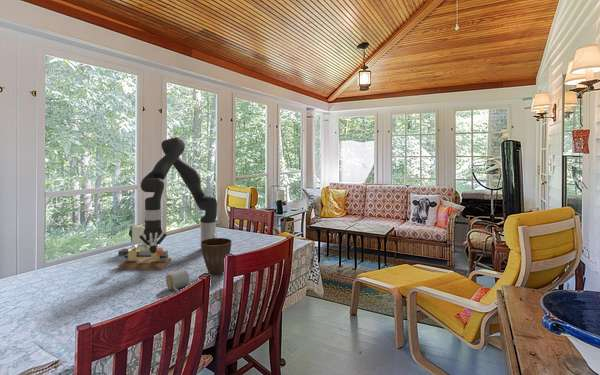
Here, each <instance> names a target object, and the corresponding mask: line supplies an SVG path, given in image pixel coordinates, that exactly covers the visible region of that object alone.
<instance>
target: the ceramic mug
mask: <svg viewBox="0 0 600 375" xmlns="http://www.w3.org/2000/svg"><path fill="white" fill-rule="evenodd" d="M165 283H166V287H167V288H168V290H170V291H175V292H176V293H178V292H177V291H179V290H180V289H182V288H187V287H186V286H188V287H189V286H190V276H189V273H188V271H187V269H185V268H183V269H180V270H177V271H173V272H170V273H168V274H166V277H165Z"/></svg>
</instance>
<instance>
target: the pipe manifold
mask: <svg viewBox="0 0 600 375" xmlns="http://www.w3.org/2000/svg"><path fill="white" fill-rule="evenodd" d="M161 248H162V250H163V255H159V256H157V253H156V252H155V253H152V252H150V250H141V248H135V249H132V250H131V251H129V252H128V254H126V255H125V256H123V257H122V263H128V262H130V261H131V260H138V259H139V258H151V260H161V263H166V262H167V261H168V258H169V250H166V249H164V247H161Z"/></svg>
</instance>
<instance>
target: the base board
mask: <svg viewBox="0 0 600 375" xmlns="http://www.w3.org/2000/svg"><path fill="white" fill-rule="evenodd" d="M172 261H173V258H172V257H168V261H167V262H166V263H161V260H151V257H141V258H139V259H138V260H131V261H130V262H128V263H123V262H122V263H119V265H118V270H163V269H164V268H166V267H167V266H168V265H169V264H170V263H172Z"/></svg>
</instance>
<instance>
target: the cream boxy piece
mask: <svg viewBox="0 0 600 375" xmlns="http://www.w3.org/2000/svg"><path fill="white" fill-rule="evenodd" d="M144 230H145V222H144V223H141V224H135V225H130V229H129V231H128V236H129V237H130V242H131V243H137V244H138V245H137V248H141V250H150V246H149V245H146V244H145V243H144V242H143V241H142V240H141V239H140V237H139V235H142V234H143V233H144ZM144 236H145V239H146V240H147V242H149V239H148V238H147V237H146V235H144ZM159 237H160V236H159ZM159 237H158V238H157V240H159V239H160V238H159ZM153 242H154V239H153Z"/></svg>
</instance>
